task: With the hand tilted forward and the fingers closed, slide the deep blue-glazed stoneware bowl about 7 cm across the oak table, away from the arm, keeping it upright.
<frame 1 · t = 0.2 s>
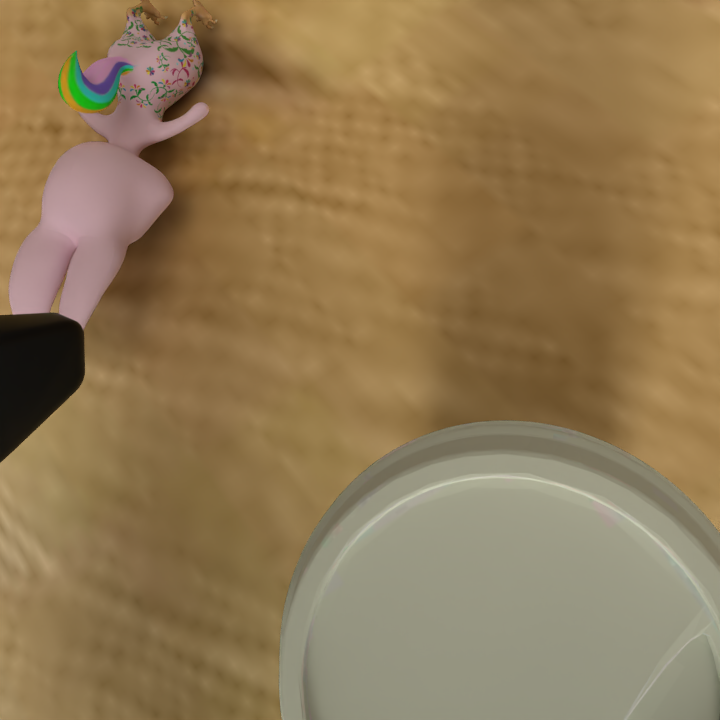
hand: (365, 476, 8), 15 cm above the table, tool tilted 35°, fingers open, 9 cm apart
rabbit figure: (145, 188, 27), on the table
coffee cup: (516, 567, 22), on the table
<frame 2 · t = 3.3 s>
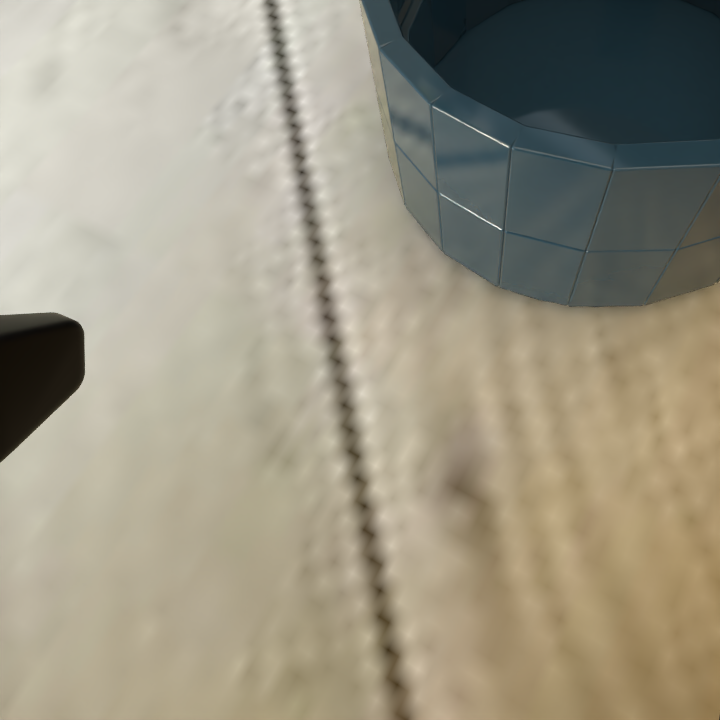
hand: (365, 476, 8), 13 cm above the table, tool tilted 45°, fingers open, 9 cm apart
bowl: (588, 135, 24), on the table
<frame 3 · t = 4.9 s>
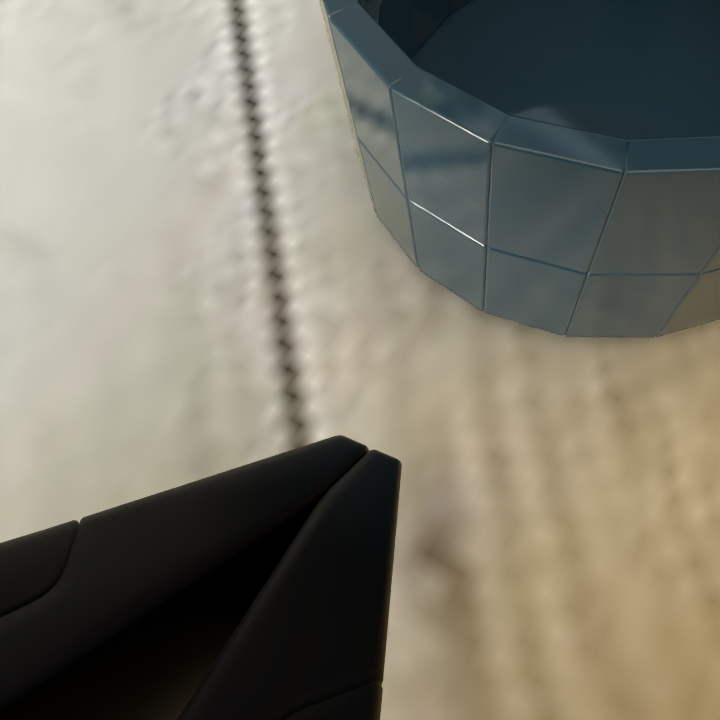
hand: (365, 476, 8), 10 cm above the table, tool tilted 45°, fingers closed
bowl: (591, 132, 20), on the table
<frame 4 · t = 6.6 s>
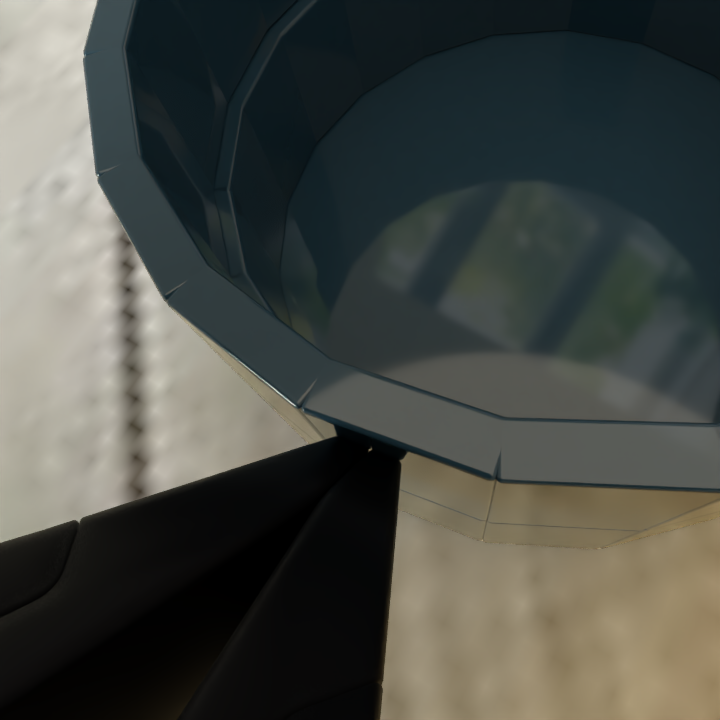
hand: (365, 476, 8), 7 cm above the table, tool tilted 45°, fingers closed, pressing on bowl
bowl: (530, 250, 16), on the table, touching gripper
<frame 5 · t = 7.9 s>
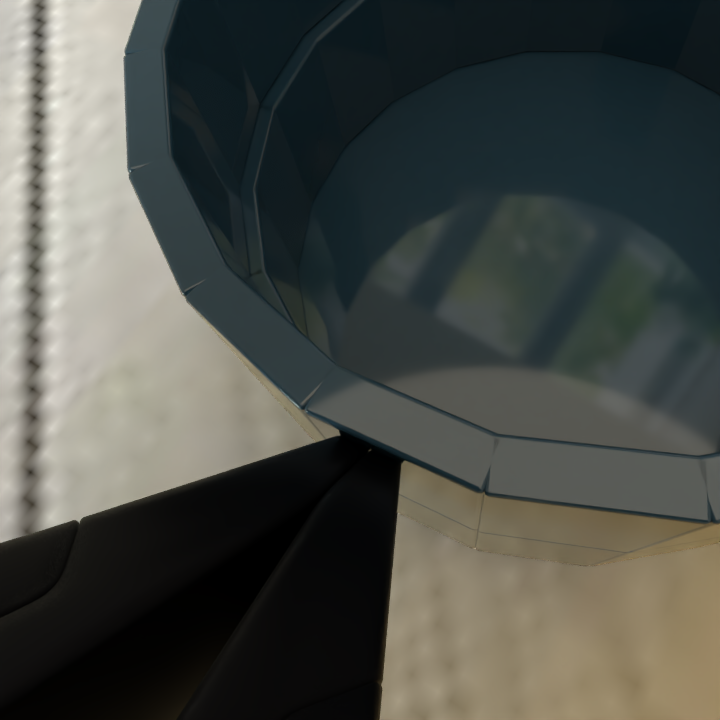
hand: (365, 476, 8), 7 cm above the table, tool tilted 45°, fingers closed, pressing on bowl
bowl: (546, 267, 16), on the table, touching gripper
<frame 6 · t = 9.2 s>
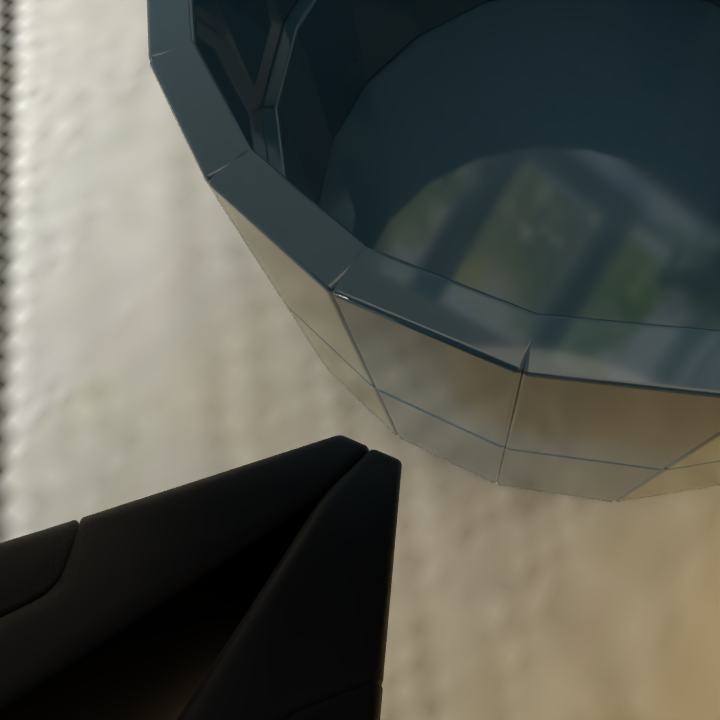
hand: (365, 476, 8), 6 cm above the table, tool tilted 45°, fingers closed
bowl: (573, 205, 16), on the table
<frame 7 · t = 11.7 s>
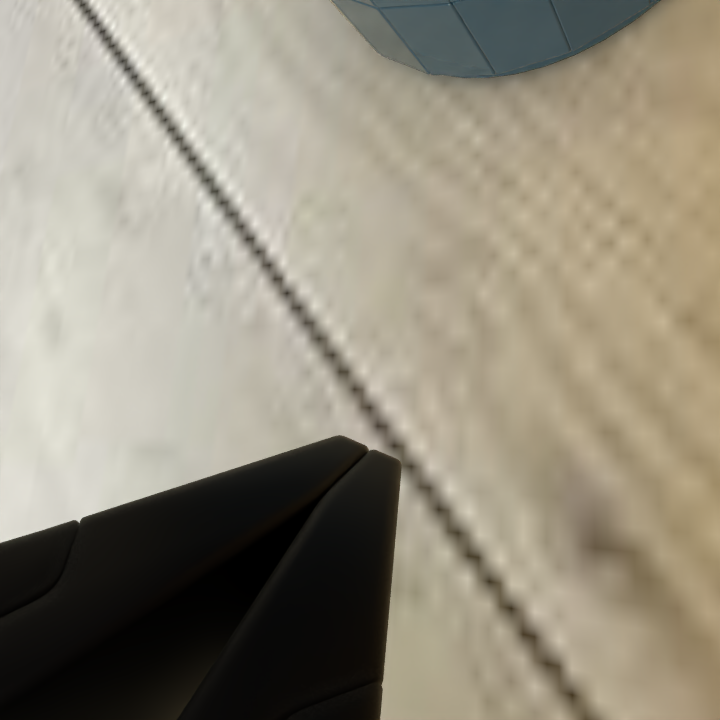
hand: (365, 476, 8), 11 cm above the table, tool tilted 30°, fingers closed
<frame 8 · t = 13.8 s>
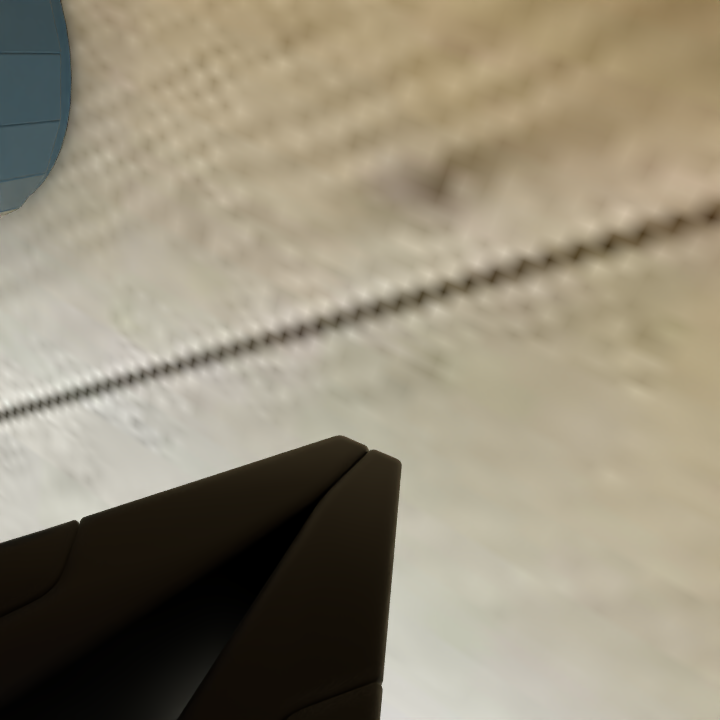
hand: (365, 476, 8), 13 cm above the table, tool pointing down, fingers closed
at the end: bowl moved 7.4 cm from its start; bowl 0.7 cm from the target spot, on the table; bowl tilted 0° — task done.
